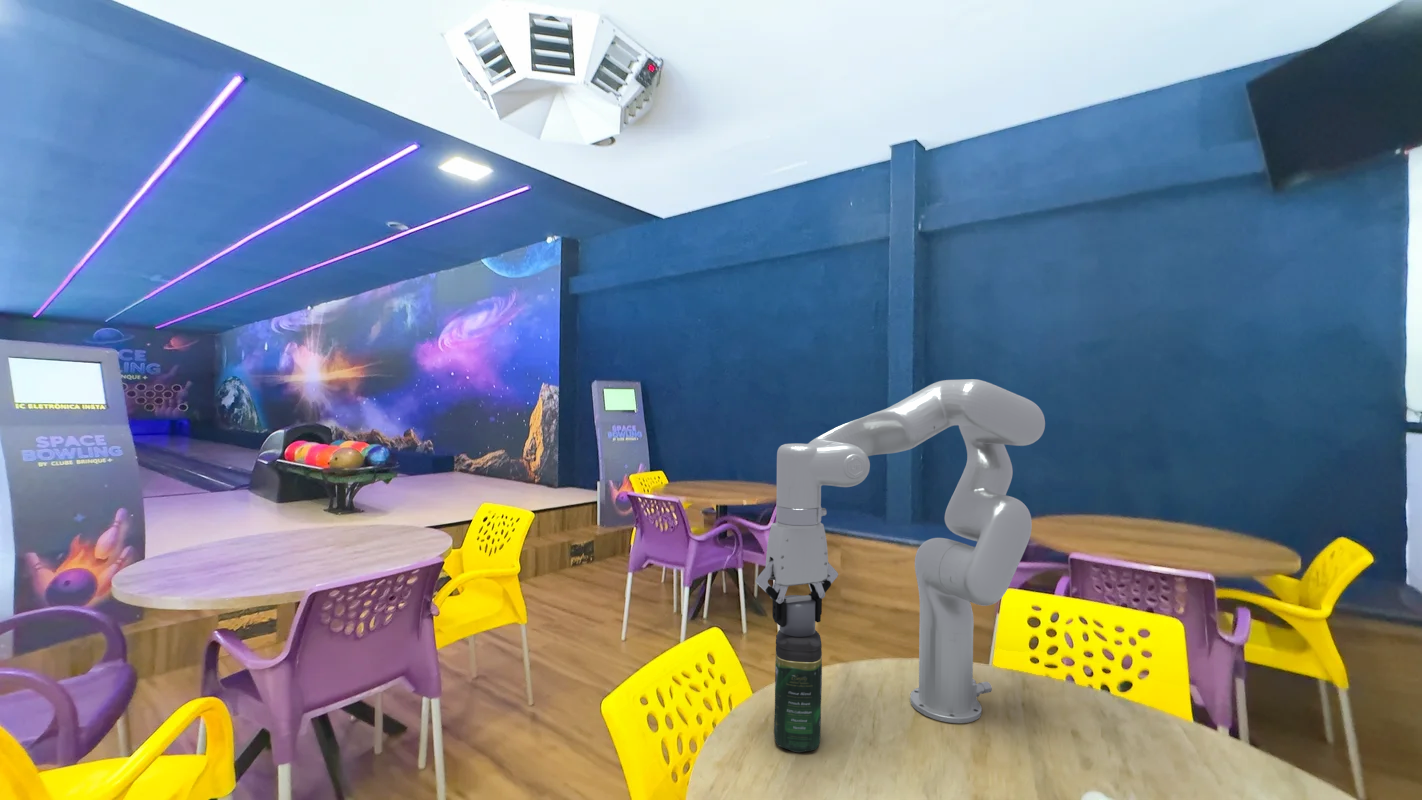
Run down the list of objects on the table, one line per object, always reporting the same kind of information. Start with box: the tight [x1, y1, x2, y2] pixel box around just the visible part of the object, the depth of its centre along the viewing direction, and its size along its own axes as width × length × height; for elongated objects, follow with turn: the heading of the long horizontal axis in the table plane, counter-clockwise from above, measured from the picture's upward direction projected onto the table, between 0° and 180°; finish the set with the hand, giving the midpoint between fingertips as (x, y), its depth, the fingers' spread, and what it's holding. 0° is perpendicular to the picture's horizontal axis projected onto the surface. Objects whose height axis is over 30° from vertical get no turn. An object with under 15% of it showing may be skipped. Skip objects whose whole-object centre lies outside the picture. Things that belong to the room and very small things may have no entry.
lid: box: [779, 594, 816, 637], centre depth 104 cm, size 6×6×6 cm
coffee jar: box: [773, 629, 823, 753], centre depth 104 cm, size 10×8×19 cm
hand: (797, 620), depth 104 cm, fingers closed on lid, 5 cm apart
